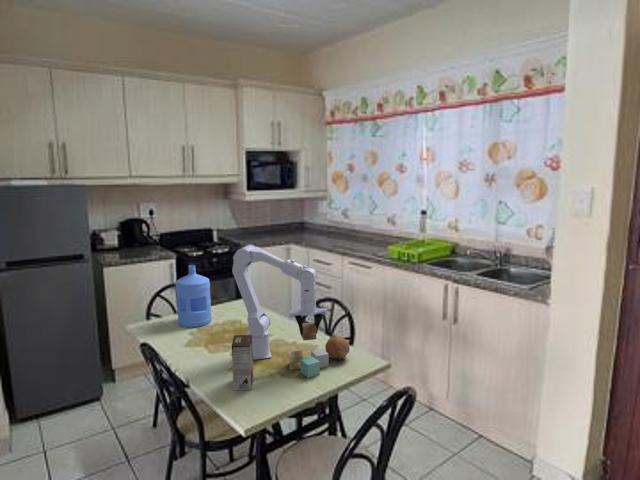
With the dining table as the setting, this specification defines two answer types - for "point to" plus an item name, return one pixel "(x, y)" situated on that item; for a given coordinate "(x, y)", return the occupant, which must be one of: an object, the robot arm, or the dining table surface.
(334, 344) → the onion
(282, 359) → the dining table surface
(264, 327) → the robot arm
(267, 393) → the dining table surface
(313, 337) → the walnut cube
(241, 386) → the coffee box
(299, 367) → the maple cube
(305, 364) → the teal cube
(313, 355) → the grey cube
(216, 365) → the dining table surface
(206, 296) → the water jug
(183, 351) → the dining table surface
